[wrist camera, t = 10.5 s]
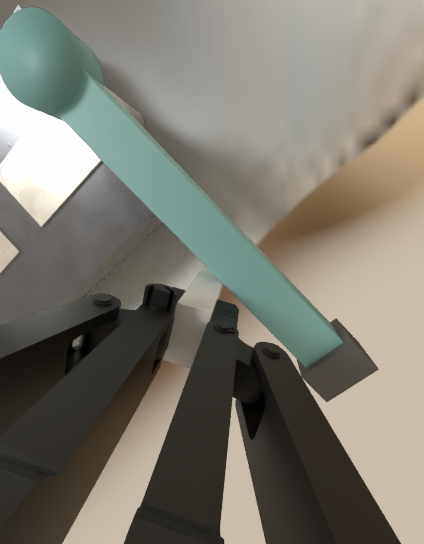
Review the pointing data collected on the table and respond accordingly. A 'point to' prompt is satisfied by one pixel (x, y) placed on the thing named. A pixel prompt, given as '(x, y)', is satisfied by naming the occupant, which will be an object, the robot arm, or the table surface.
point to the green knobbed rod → (171, 194)
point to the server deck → (58, 212)
